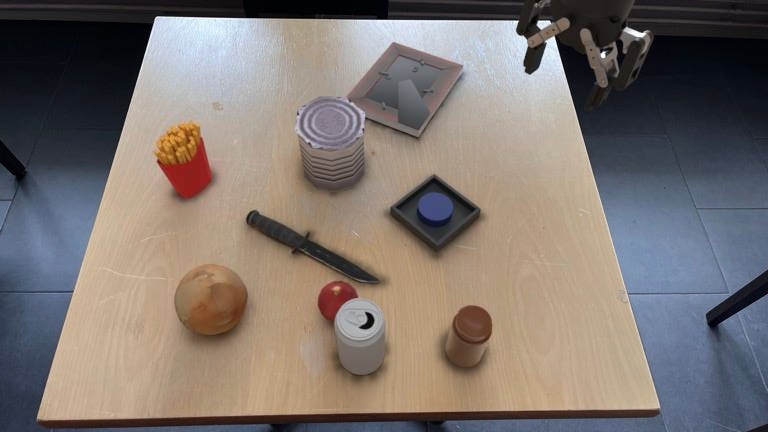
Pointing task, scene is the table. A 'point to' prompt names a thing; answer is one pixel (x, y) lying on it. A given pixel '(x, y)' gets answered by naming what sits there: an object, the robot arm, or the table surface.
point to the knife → (307, 246)
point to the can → (331, 142)
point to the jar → (468, 336)
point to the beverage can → (360, 335)
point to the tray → (430, 235)
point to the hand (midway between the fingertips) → (560, 88)
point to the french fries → (184, 159)
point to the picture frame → (405, 88)
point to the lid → (435, 209)
